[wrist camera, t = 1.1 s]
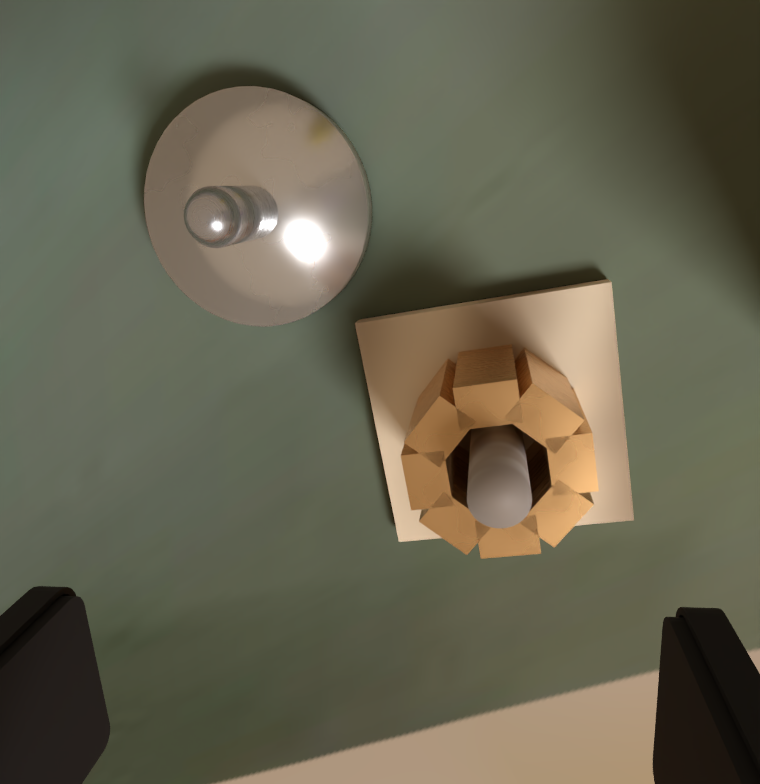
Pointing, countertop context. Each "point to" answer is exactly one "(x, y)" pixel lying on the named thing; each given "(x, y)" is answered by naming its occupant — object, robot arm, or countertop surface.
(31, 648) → the robot arm
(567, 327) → the stand
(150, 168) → the hub
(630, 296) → the countertop surface
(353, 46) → the countertop surface
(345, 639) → the countertop surface
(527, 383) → the collar
